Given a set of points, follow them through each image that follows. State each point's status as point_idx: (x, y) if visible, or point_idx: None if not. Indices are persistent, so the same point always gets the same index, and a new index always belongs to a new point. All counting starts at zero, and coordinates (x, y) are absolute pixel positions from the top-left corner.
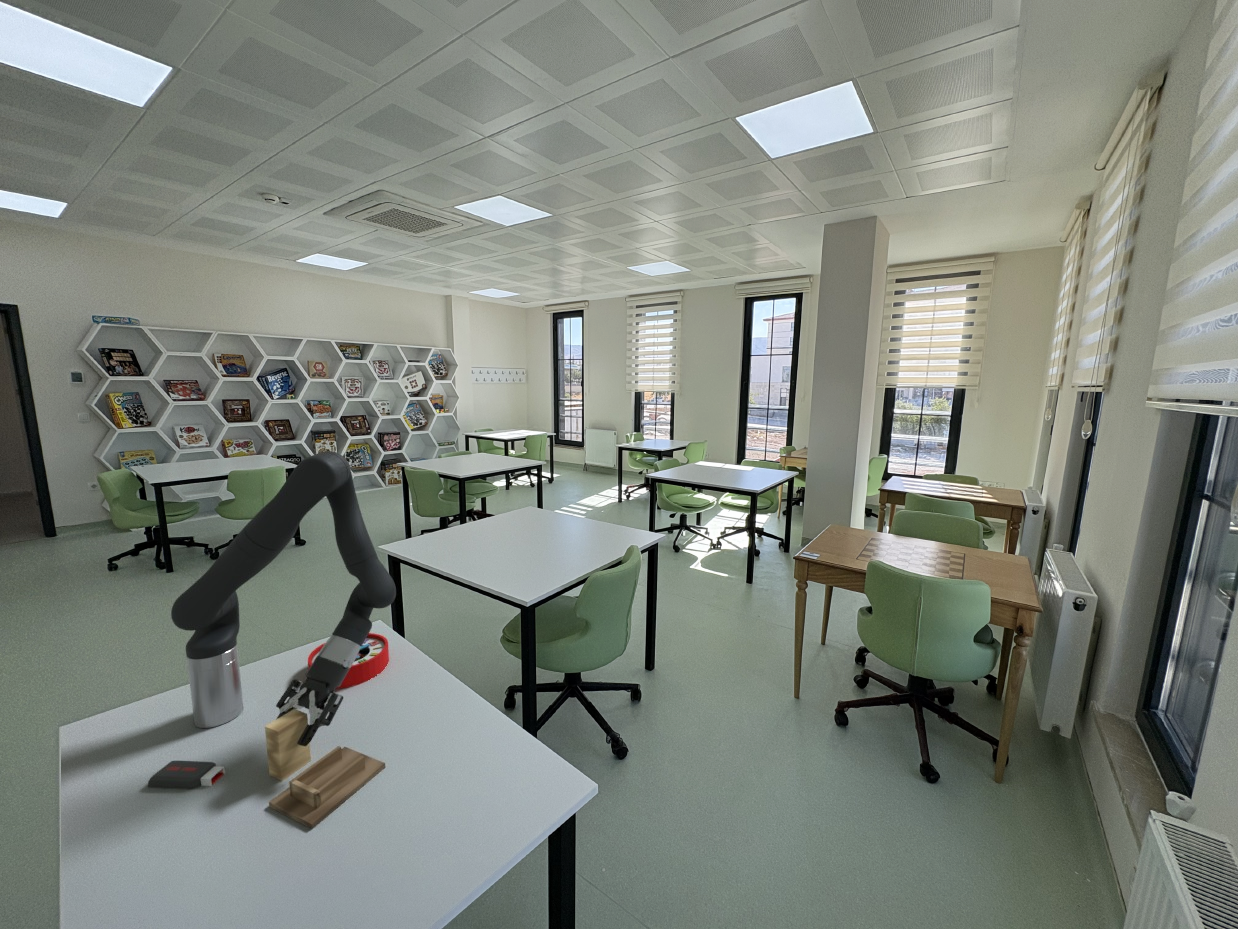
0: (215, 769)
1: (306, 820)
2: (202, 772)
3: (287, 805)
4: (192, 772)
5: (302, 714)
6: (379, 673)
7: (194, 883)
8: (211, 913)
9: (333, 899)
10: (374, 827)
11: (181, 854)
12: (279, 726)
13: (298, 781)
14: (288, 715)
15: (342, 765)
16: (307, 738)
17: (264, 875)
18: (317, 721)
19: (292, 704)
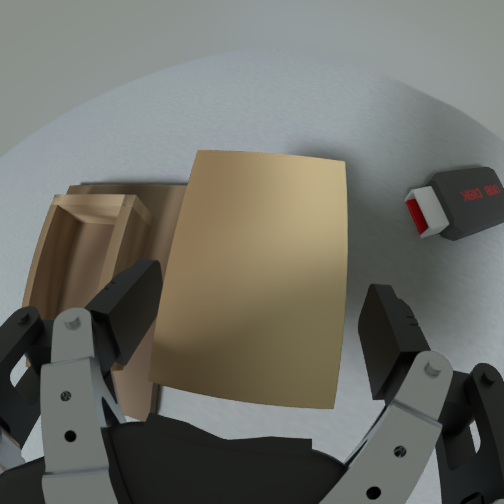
0: (436, 215)
1: (81, 186)
2: (440, 187)
3: (138, 194)
4: (458, 188)
5: (179, 366)
6: None
7: (191, 82)
8: (135, 82)
9: (26, 148)
10: (6, 232)
11: (262, 92)
12: (234, 184)
13: (110, 204)
14: (298, 317)
15: None
16: (112, 283)
17: (103, 122)
18: (37, 315)
19: (379, 423)
